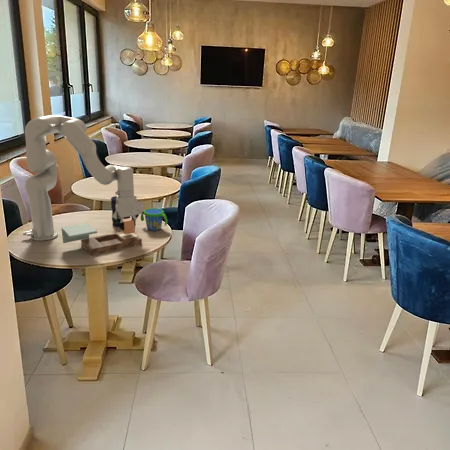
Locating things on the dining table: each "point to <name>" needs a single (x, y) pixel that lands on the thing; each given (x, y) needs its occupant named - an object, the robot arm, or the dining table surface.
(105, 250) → the board
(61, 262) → the dining table surface
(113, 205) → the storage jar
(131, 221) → the block
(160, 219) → the snack cup
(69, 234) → the cover
